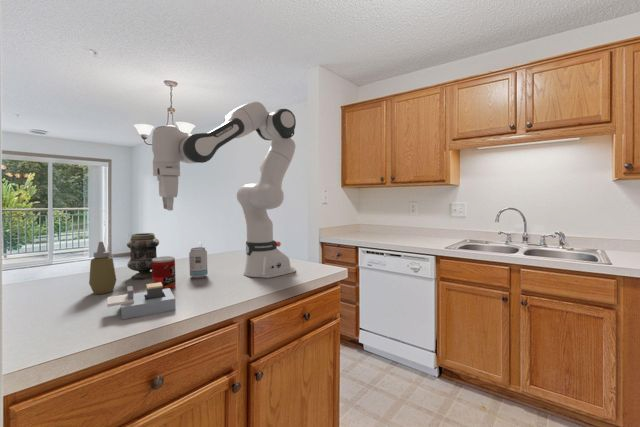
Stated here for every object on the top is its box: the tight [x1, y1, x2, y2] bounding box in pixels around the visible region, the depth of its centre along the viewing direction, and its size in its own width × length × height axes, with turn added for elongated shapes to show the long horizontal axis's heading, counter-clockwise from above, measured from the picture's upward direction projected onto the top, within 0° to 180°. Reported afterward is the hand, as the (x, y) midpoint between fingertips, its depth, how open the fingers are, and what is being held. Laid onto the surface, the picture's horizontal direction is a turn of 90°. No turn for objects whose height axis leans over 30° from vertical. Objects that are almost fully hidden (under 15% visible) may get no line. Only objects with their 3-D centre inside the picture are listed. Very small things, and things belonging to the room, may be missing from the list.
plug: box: [145, 282, 163, 300], centre depth 101 cm, size 4×4×7 cm
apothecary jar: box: [126, 232, 160, 281], centre depth 135 cm, size 12×12×18 cm
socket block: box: [120, 288, 177, 321], centre depth 100 cm, size 14×12×4 cm
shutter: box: [106, 285, 134, 308], centre depth 96 cm, size 7×7×3 cm
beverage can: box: [188, 246, 208, 280], centre depth 134 cm, size 7×7×12 cm
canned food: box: [151, 255, 176, 290], centre depth 120 cm, size 8×8×11 cm
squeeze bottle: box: [88, 241, 117, 295], centre depth 115 cm, size 8×8×18 cm
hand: (168, 209), depth 117 cm, fingers open, 8 cm apart
